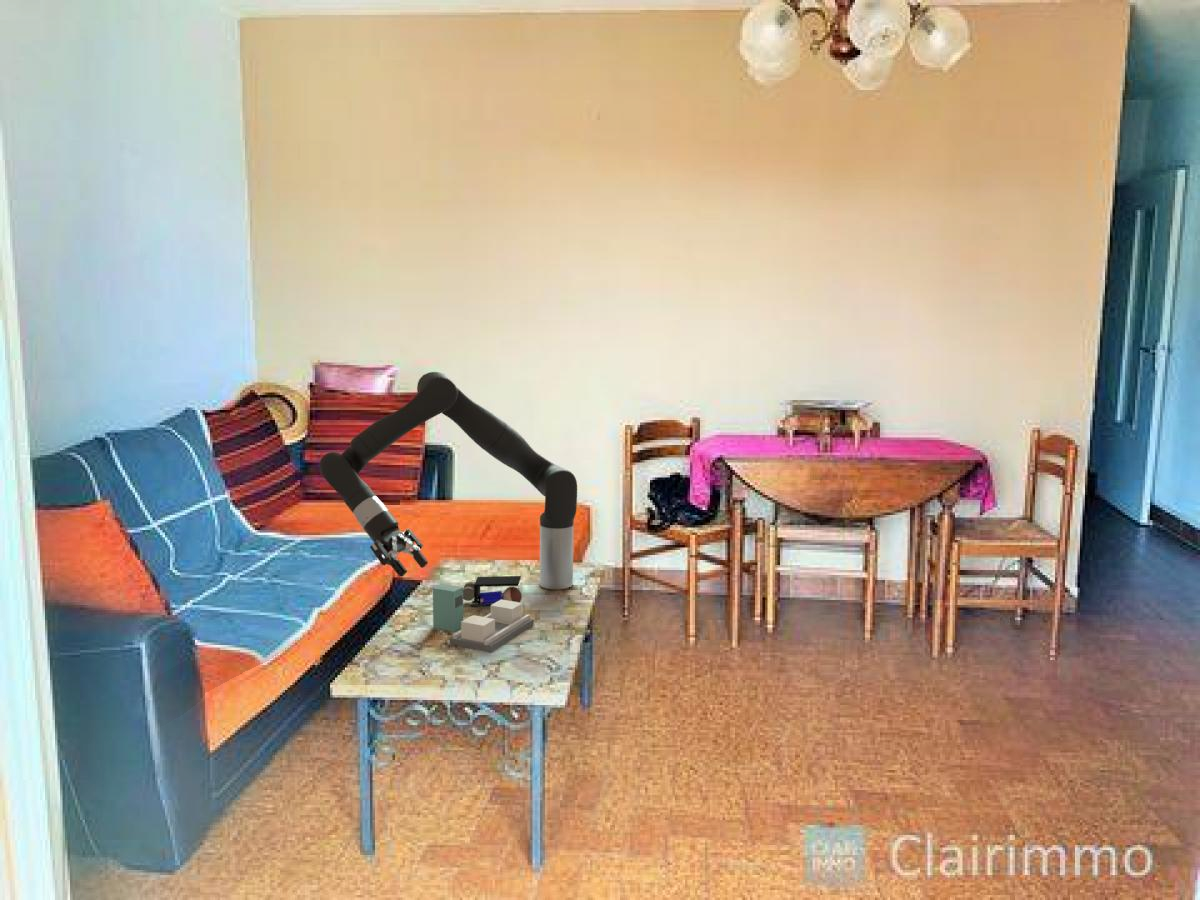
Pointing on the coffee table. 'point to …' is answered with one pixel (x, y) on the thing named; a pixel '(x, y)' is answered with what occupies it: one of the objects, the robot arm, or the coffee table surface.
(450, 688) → the coffee table surface
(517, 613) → the mounted blocks
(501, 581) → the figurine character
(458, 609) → the block
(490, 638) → the rail board
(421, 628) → the coffee table surface
